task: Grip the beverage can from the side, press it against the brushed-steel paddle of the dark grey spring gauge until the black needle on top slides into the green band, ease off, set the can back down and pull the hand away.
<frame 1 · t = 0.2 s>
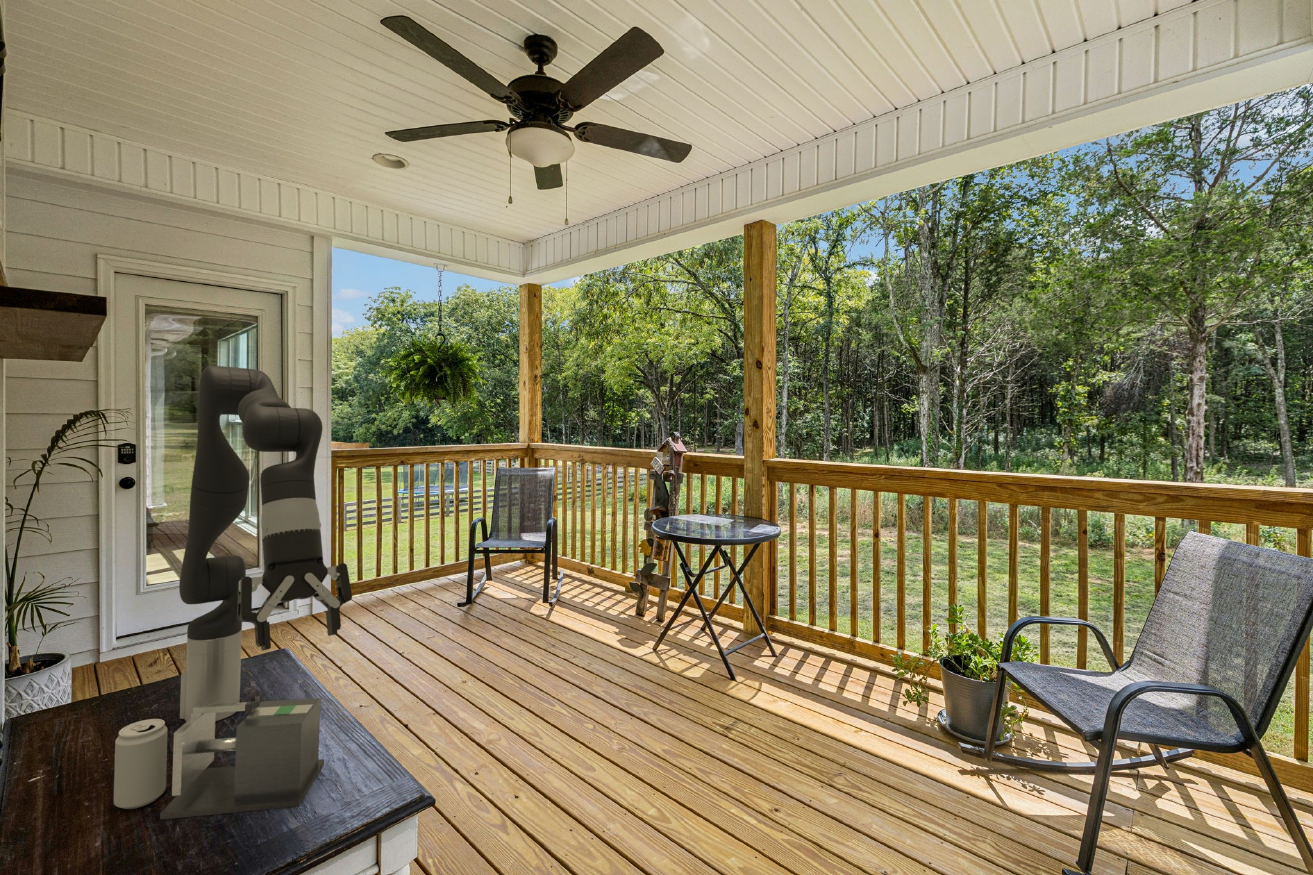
hand: (300, 642, 84), 31 cm above the table, tool tilted 20°, fingers open, 8 cm apart
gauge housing: (223, 791, 97), on the table
beverage can: (140, 800, 95), on the table
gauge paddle: (221, 739, 97), point 9 cm above the table, slide at 0.0 cm
peak needle: (252, 700, 98), point 15 cm above the table, slide at 0.0 cm
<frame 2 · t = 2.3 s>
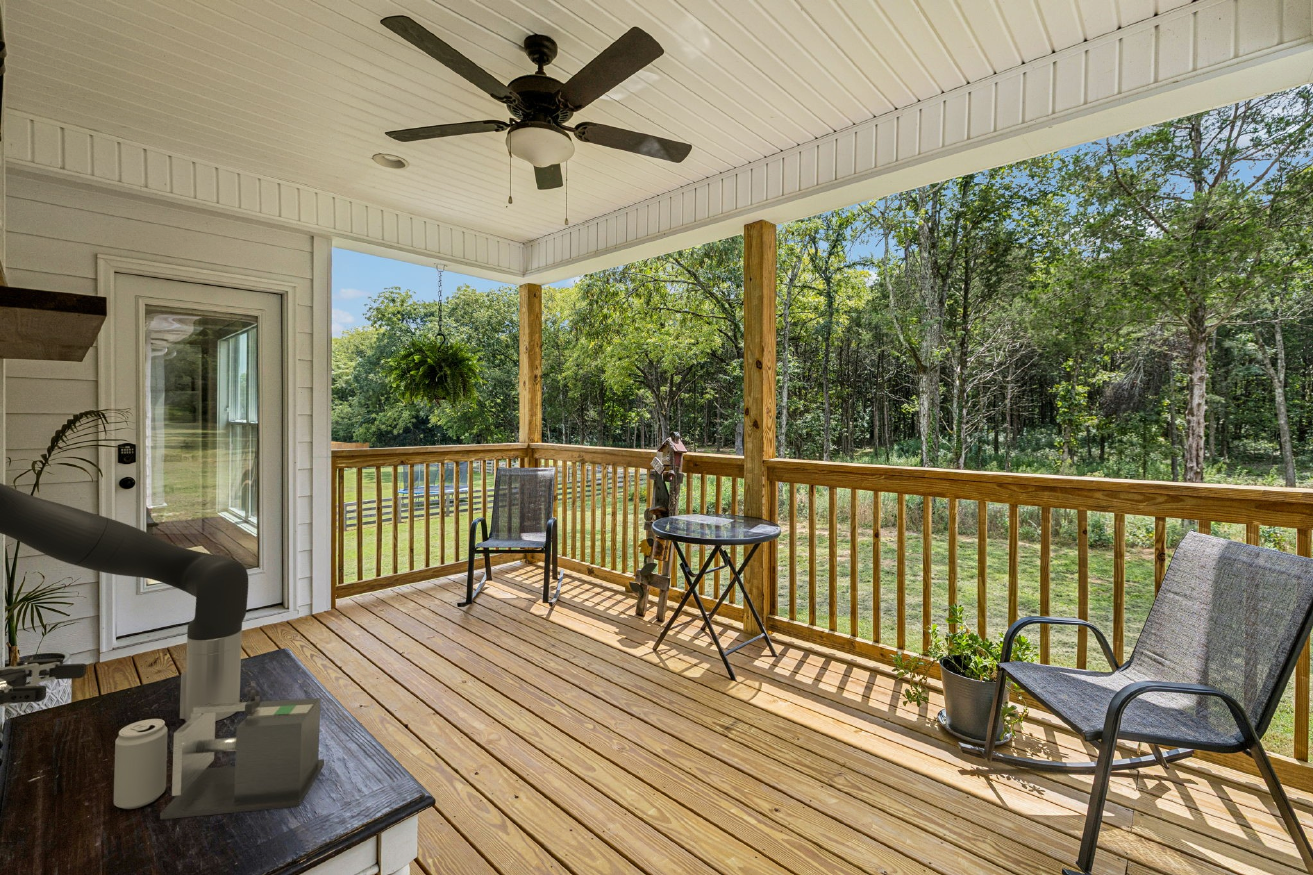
hand: (65, 681, 92), 20 cm above the table, tool horizontal, fingers open, 8 cm apart
nothing on the table moved.
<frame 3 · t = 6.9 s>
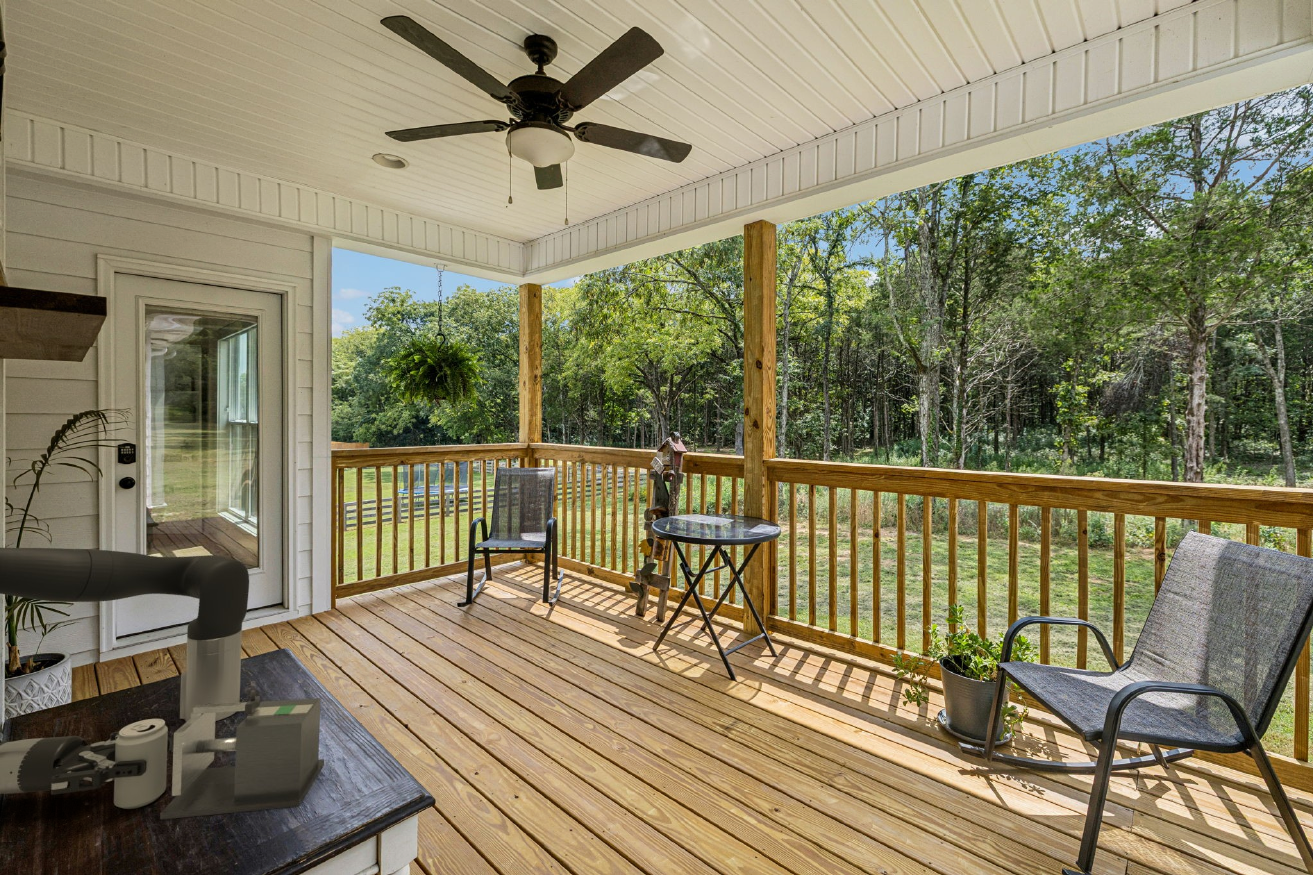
hand: (158, 755, 95), 7 cm above the table, tool horizontal, fingers closed on beverage can, 6 cm apart
beverage can: (140, 800, 95), on the table, touching gripper
everything else where it was.
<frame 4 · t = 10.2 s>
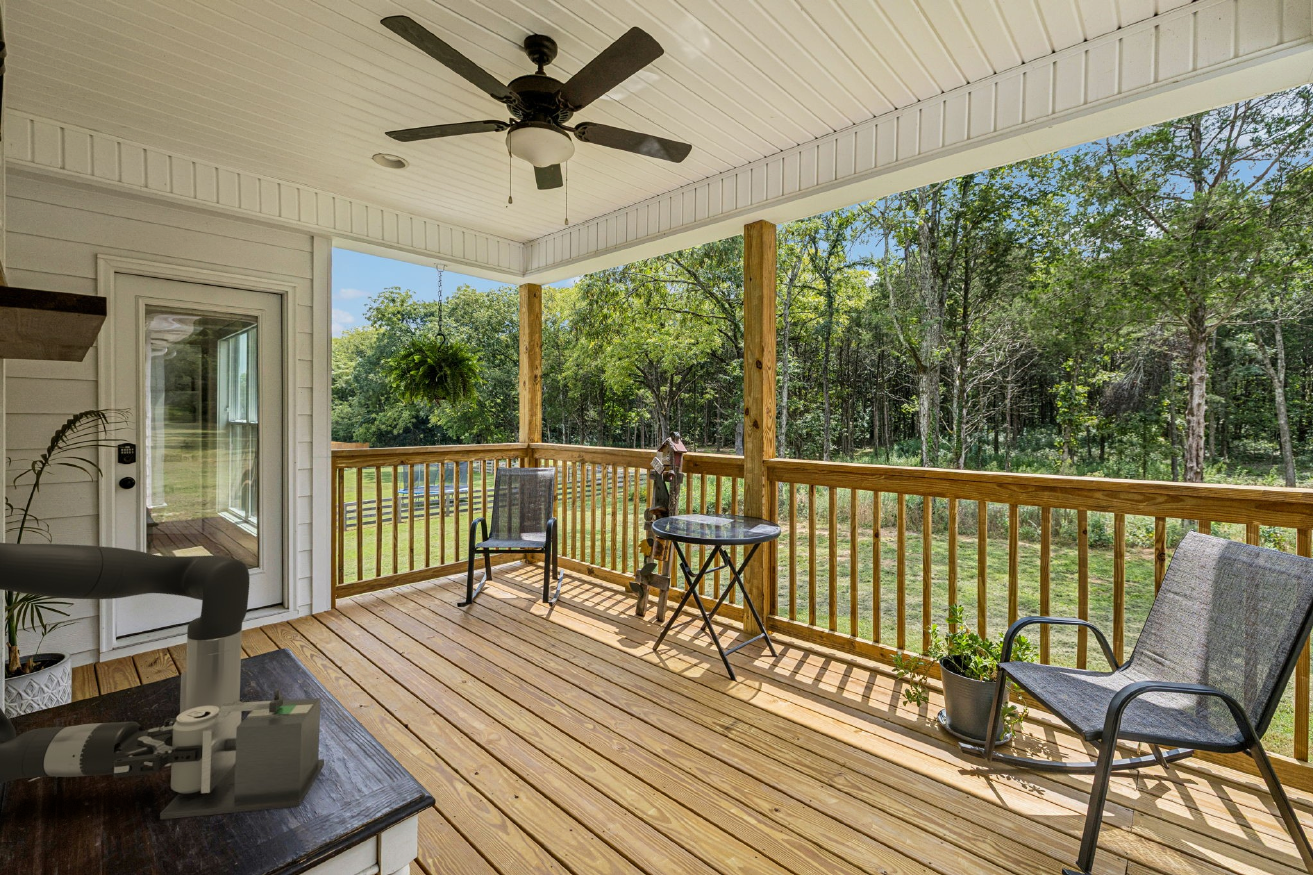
hand: (213, 741, 97), 9 cm above the table, tool horizontal, fingers closed on beverage can, 6 cm apart
beverage can: (195, 785, 96), point 1 cm above the table, touching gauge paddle, gripper
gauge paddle: (248, 737, 98), point 9 cm above the table, slide at 4.0 cm, touching beverage can, peak needle
peak needle: (276, 698, 99), point 15 cm above the table, slide at 3.6 cm, touching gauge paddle
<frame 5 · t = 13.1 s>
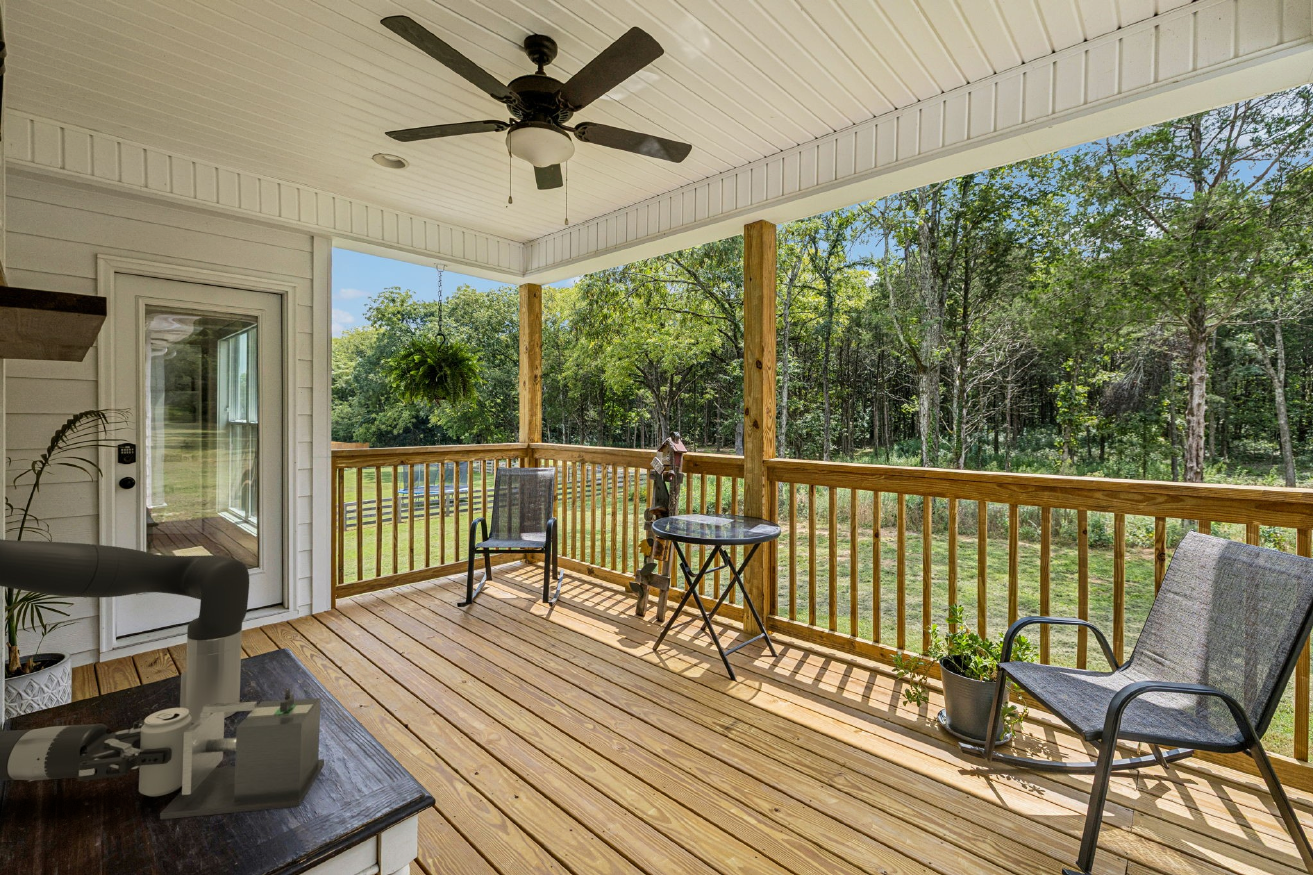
hand: (182, 744, 96), 9 cm above the table, tool horizontal, fingers closed on beverage can, 6 cm apart
beverage can: (164, 788, 95), point 1 cm above the table, touching gripper
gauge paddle: (231, 739, 97), point 9 cm above the table, slide at 1.4 cm
peak needle: (287, 698, 99), point 15 cm above the table, slide at 5.3 cm
when the fingers open (7 cm above the table, at t = 15.0 s): beverage can stays where it is, on the table.
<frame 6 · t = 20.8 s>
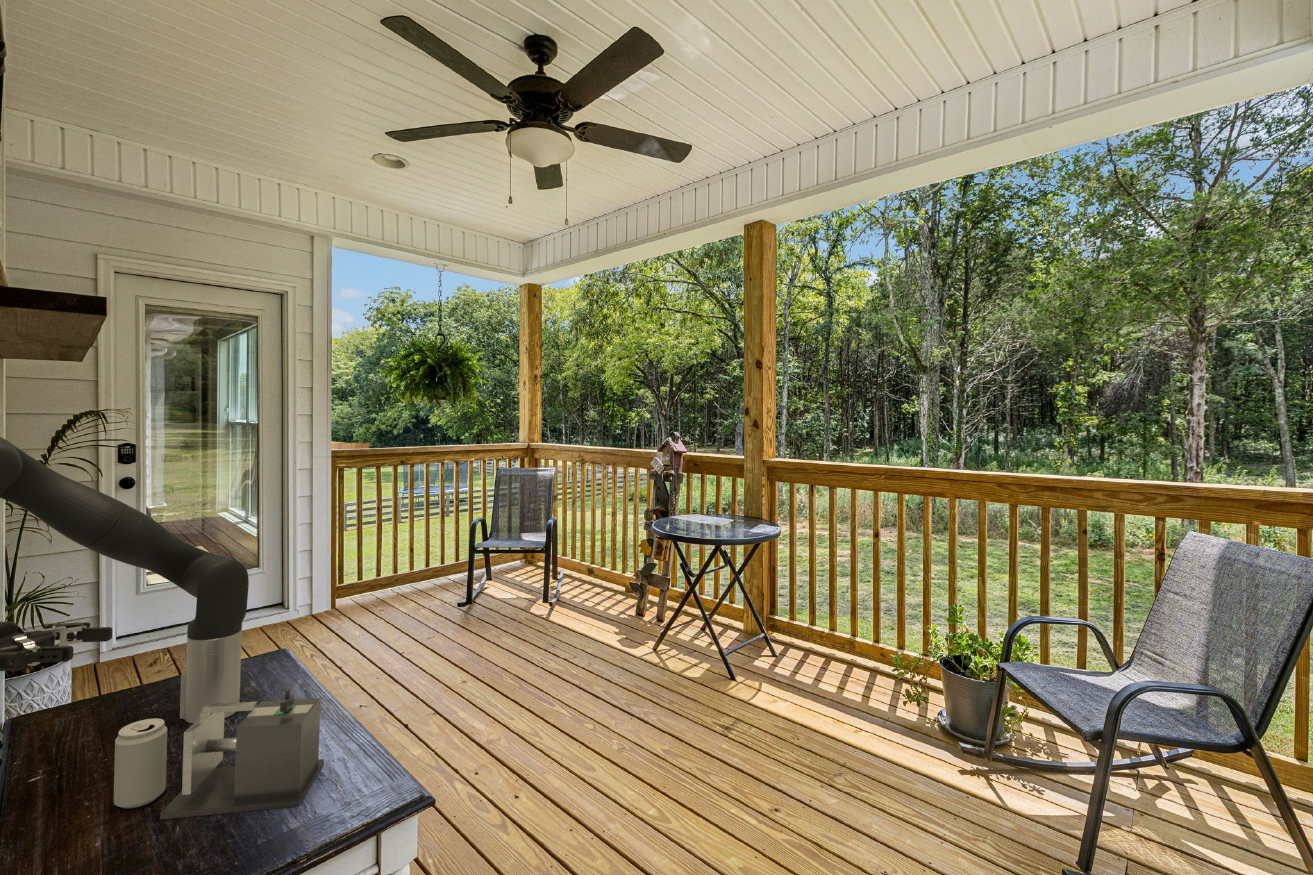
hand: (92, 643, 93), 26 cm above the table, tool horizontal, fingers open, 8 cm apart
beverage can: (140, 799, 95), on the table
everything else where it was.
at the end: peak needle slide at 5.3 cm; beverage can tilted 0°; beverage can inside the target area (0.3 cm from its centre), on the table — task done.
